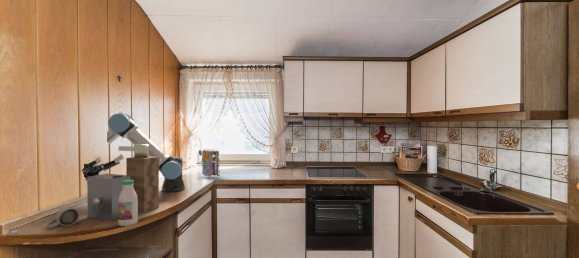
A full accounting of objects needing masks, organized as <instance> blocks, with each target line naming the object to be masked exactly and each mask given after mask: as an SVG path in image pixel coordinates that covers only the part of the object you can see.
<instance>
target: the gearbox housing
mask: <svg viewBox="0 0 579 258" xmlns="http://www.w3.org/2000/svg"><path fill="white" fill-rule="evenodd" d="M124 180H130V175H126V174H117V173H116V174H115V173H103V174H99V175H96V176H90V177H87V184H86V185H87V187H86V189H87V190H86V191H87V194H86V195H87V202H86V203H87V206H86V207H87V218H88V219H96V220H103V221H108V222H109V221H110V222H113V221H115V220H116V221H117V220H118V202H119V196H120V194H121V192H122V189H123V186H122V185H123V184H122V181H124Z"/></svg>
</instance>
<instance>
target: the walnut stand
mask: <svg viewBox="0 0 579 258" xmlns="http://www.w3.org/2000/svg"><path fill="white" fill-rule="evenodd" d="M125 160H126V161H125V163H126V165H125V166H126V167H125V169H126V171H125V172H126V174H125V175H130V180H134V185H133V188H134V190H135V192H136V194H137V200H138V213H147V212H150V211H153V210H155V209H158V208H159V207H160V206H159V205H160V202H159V201H160V199H159V198H160V197H159V196H160V195H159V194H160V189H159V187H160V183H159V181H160V180H159V179H160V177H159V176H160V171H159V157H151V156H149V157H147V158H134V156H133V157H132V156H131V157H126V159H125Z"/></svg>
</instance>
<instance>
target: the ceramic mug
mask: <svg viewBox="0 0 579 258" xmlns="http://www.w3.org/2000/svg"><path fill="white" fill-rule="evenodd" d="M54 216H55V217H54V219H52V220H51V221H49V222H48V223H47V224H46V226H47V228H48V229H52V228H55V227H57V226H59V225H60V226H63V227H70V226H73V225H74V224H75V223H77V222H78V220H79V218H80V213H79V211H78V210H77V209H75V208H73V207H69V206H67V207H62V208H60V209H59V210H58V211H56V212H55V215H54Z"/></svg>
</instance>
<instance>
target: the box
mask: <svg viewBox="0 0 579 258" xmlns="http://www.w3.org/2000/svg"><path fill="white" fill-rule="evenodd" d="M198 154H199V156H200V157H201V163H202V169H201V170H202V171H201V172H202V173H201V174H202V177H203V178H205V179H206V177H207V179H210V178H211V177H213V179H214V178H215V179H216V178H217V177H220V176H221V175H220V174H221V173H220V171H221V170H220V169H221V168H220V167H221V166H220V165H221V164H220V163H221V162H220V151H219V150H216V149H212V150H211V149H208V148H207V149H202V150H201V149H199V150H198Z"/></svg>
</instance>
